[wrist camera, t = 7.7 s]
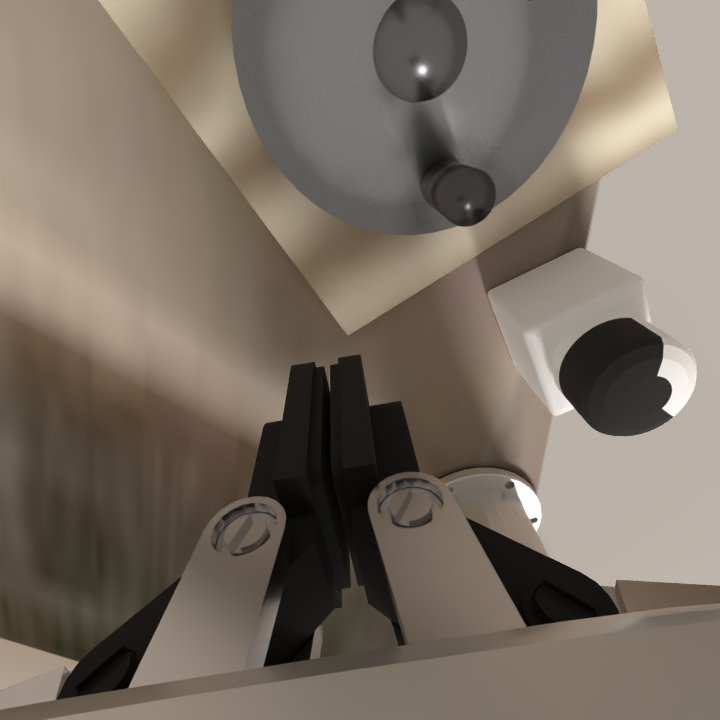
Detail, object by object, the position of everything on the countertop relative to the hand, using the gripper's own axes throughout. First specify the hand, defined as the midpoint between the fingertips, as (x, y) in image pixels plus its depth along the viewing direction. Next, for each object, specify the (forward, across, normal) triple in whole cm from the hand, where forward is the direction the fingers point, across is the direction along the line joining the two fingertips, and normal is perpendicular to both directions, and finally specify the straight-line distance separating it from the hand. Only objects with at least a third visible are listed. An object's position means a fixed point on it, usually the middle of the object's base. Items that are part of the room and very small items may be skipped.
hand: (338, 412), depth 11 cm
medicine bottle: (+21, -14, +8) cm, 27 cm away
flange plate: (+19, -6, -10) cm, 22 cm away
